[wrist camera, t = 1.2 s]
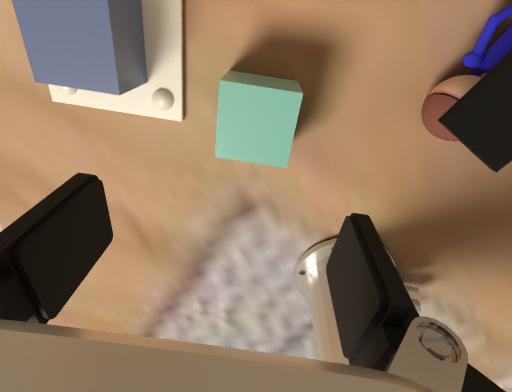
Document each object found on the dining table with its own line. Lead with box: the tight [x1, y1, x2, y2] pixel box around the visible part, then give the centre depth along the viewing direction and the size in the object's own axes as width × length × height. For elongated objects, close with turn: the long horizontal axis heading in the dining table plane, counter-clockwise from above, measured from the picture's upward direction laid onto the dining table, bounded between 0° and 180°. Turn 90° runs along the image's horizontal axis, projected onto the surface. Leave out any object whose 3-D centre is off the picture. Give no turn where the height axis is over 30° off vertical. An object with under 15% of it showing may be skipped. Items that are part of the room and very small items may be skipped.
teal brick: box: [215, 70, 303, 168], centre depth 23 cm, size 6×6×5 cm
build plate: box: [12, 0, 183, 122], centre depth 20 cm, size 12×12×6 cm
